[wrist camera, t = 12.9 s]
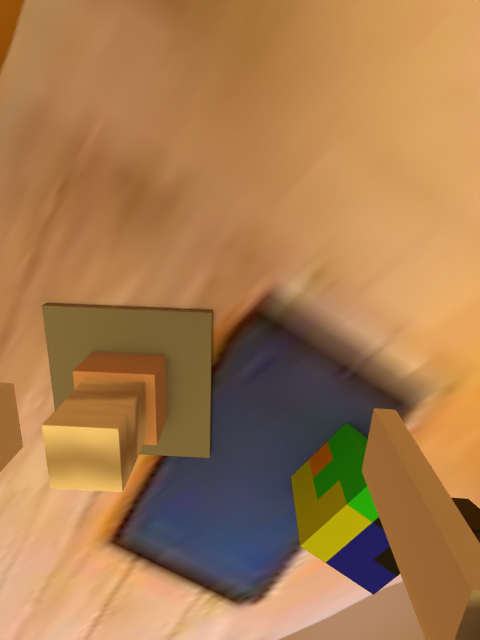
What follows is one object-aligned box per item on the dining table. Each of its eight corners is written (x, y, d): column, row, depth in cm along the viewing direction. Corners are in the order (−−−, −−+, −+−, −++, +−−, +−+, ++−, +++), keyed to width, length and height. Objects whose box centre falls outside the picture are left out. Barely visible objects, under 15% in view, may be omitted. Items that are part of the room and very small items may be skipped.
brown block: (84, 379, 38) (41, 425, 30) (145, 382, 38) (118, 428, 30) (89, 432, 40) (50, 488, 32) (147, 435, 40) (122, 491, 32)
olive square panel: (46, 303, 42) (42, 305, 41) (212, 310, 42) (211, 312, 41) (63, 445, 47) (59, 450, 46) (210, 452, 47) (209, 457, 46)
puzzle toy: (350, 518, 50) (373, 594, 40) (290, 476, 48) (300, 546, 38) (407, 468, 47) (446, 536, 38) (346, 422, 45) (371, 481, 36)
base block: (92, 351, 42) (72, 371, 38) (165, 354, 42) (154, 374, 37) (98, 415, 45) (79, 441, 40) (166, 418, 45) (156, 445, 40)
